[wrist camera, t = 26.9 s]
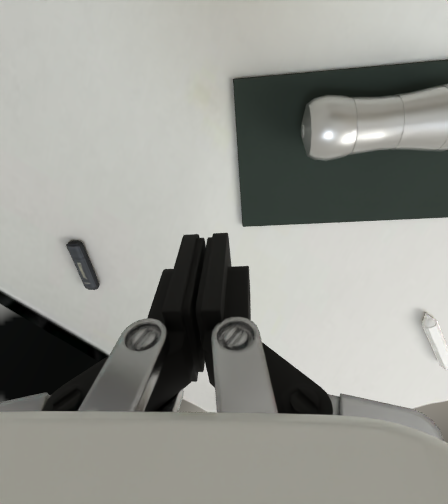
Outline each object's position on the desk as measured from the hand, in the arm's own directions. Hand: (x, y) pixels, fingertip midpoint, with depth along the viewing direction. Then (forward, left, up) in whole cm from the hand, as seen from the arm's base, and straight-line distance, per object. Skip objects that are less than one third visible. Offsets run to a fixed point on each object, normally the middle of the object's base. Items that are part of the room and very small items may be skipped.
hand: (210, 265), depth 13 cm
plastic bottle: (+3, +7, -27) cm, 28 cm away
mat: (+8, +15, -31) cm, 36 cm away
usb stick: (+23, -26, -31) cm, 47 cm away
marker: (+42, +33, -31) cm, 62 cm away
